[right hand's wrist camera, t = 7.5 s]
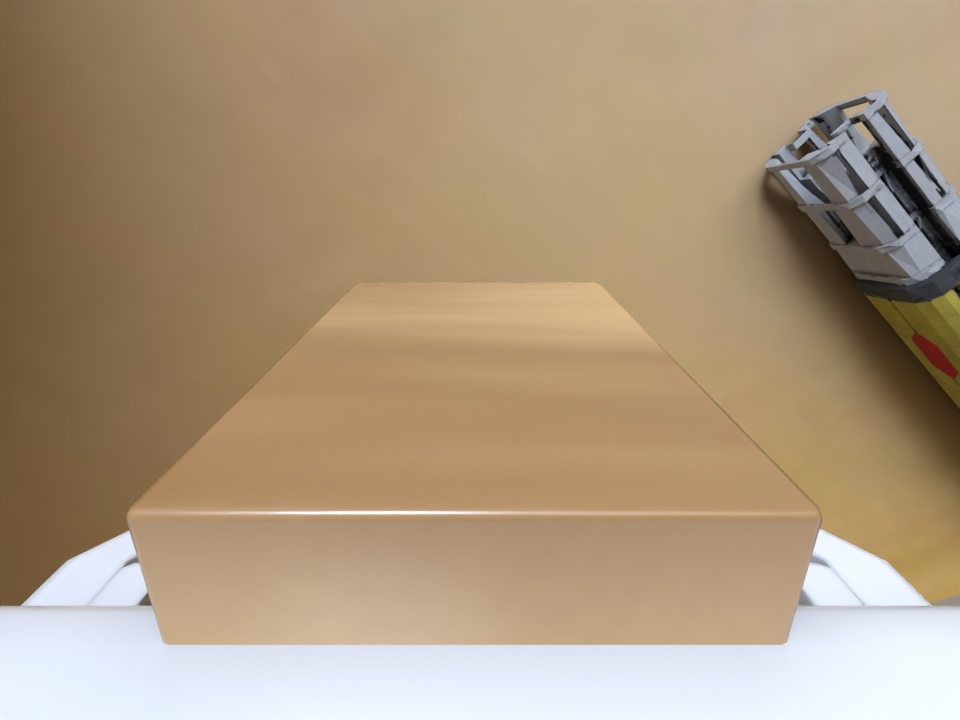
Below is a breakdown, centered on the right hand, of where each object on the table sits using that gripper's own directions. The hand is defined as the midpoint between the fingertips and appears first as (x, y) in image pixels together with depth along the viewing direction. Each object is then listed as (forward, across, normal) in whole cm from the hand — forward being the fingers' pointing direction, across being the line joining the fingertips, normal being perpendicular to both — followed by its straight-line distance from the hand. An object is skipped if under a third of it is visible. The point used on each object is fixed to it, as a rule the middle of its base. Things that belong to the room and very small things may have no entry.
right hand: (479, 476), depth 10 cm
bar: (+3, 0, -10) cm, 10 cm away
